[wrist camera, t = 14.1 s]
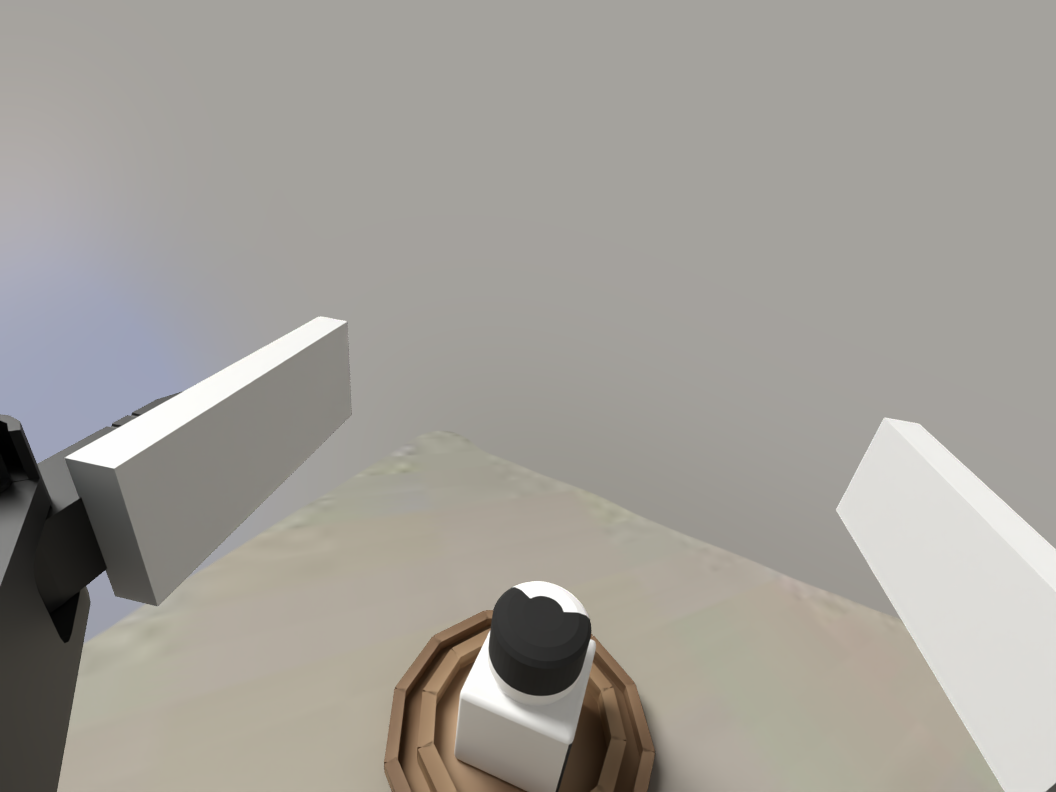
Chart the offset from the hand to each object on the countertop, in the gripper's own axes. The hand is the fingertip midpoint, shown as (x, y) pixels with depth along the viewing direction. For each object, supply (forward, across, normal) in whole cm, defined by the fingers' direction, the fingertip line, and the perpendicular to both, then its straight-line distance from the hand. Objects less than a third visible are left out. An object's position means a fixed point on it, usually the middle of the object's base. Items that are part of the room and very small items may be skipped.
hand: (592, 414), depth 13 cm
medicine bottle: (+10, 0, -31) cm, 33 cm away
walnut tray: (+10, 0, -32) cm, 33 cm away
